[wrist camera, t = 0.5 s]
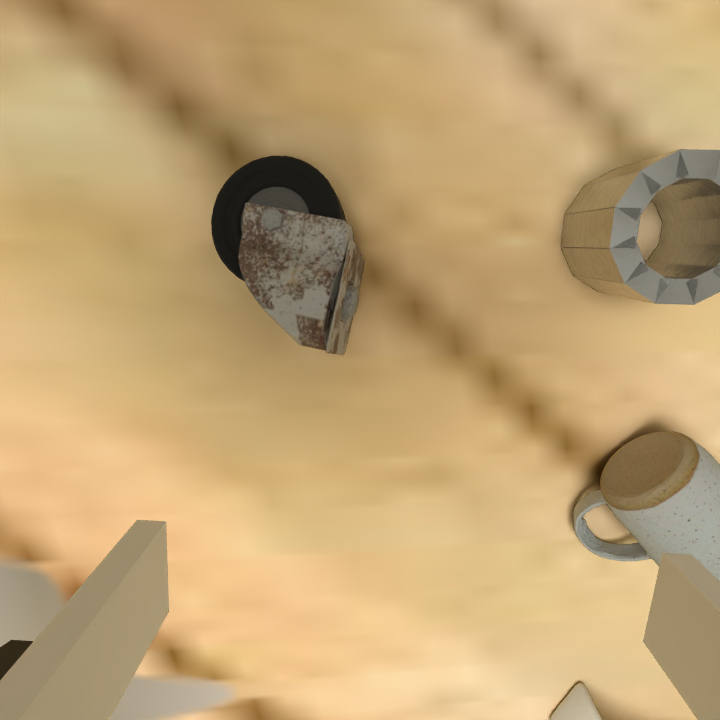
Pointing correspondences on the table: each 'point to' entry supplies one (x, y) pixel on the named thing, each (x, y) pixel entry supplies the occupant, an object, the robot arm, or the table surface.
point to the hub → (678, 235)
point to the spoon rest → (576, 706)
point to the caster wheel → (291, 248)
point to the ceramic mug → (659, 501)
